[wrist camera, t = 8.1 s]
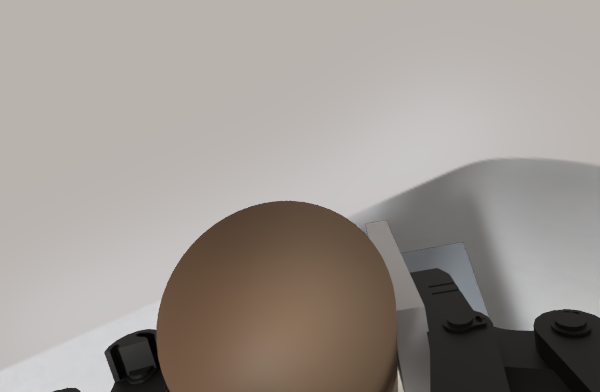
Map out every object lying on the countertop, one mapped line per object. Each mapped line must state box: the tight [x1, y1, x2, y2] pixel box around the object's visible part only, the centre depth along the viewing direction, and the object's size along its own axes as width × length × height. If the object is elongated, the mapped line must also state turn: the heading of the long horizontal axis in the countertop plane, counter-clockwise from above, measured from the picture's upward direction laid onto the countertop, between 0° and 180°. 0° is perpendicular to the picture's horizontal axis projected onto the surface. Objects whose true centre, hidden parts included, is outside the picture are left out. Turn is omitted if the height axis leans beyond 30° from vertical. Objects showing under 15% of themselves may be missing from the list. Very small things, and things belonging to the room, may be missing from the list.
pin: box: [156, 201, 398, 392], centre depth 12 cm, size 4×4×11 cm
